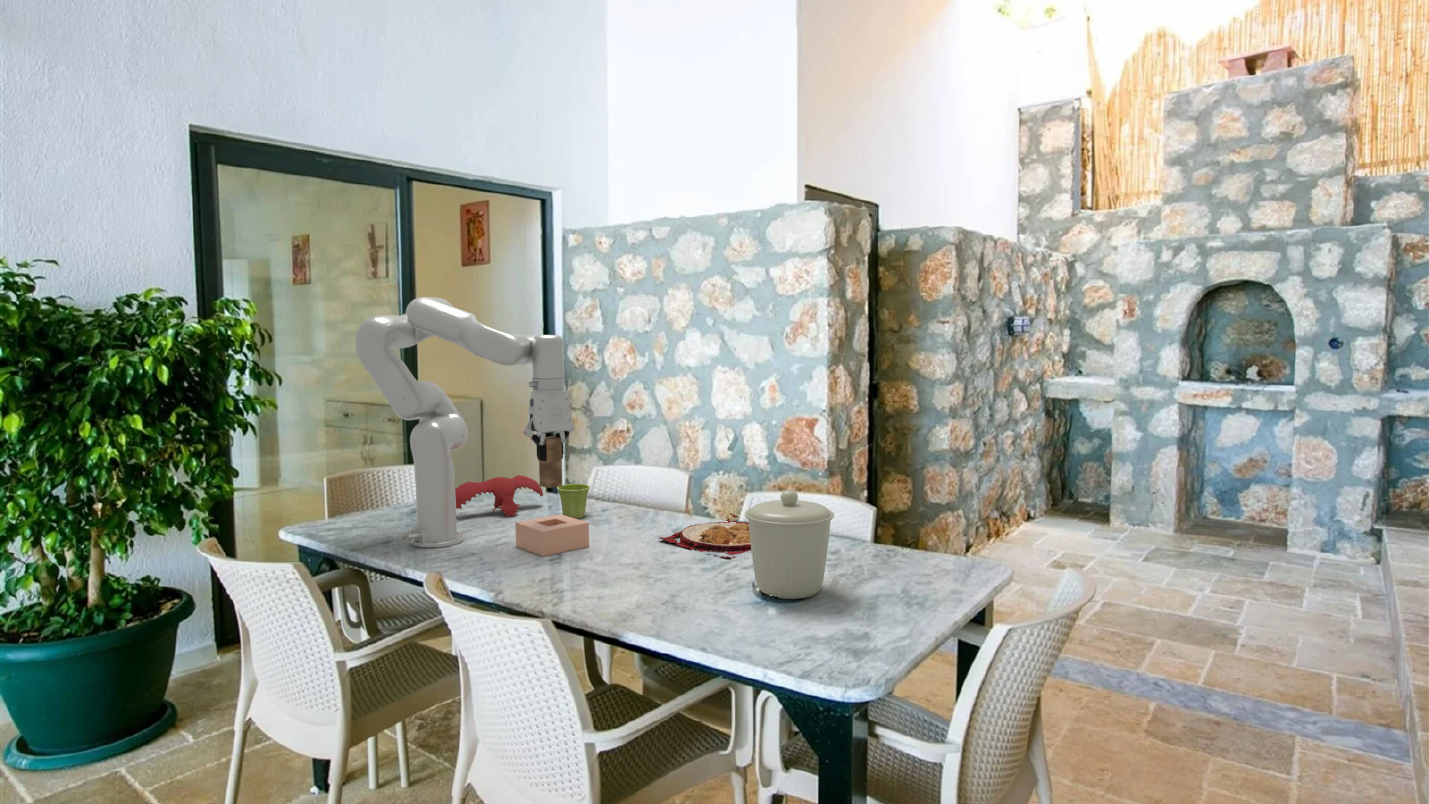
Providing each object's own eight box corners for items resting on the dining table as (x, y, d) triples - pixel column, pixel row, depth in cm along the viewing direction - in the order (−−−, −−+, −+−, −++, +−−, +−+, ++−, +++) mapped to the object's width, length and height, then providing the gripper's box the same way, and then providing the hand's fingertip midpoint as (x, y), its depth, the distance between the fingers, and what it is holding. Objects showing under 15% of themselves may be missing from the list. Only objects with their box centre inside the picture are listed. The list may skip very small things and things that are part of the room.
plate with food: (657, 544, 214) (656, 531, 214) (728, 524, 233) (728, 511, 233) (727, 564, 197) (727, 550, 197) (798, 540, 216) (798, 527, 216)
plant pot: (597, 515, 244) (596, 485, 243) (575, 521, 236) (575, 491, 235) (572, 511, 249) (572, 482, 248) (550, 518, 241) (550, 488, 240)
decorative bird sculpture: (548, 521, 255) (531, 481, 262) (559, 504, 250) (541, 463, 256) (458, 537, 237) (443, 493, 244) (467, 519, 232) (451, 474, 238)
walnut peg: (548, 488, 206) (547, 439, 205) (539, 485, 209) (538, 437, 208) (562, 485, 209) (561, 437, 208) (553, 483, 212) (552, 436, 210)
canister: (762, 610, 162) (762, 502, 160) (733, 583, 179) (733, 485, 177) (848, 601, 167) (849, 496, 165) (812, 575, 184) (813, 480, 182)
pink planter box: (543, 556, 201) (542, 531, 200) (516, 546, 211) (515, 522, 210) (589, 546, 210) (588, 522, 209) (560, 536, 219) (560, 514, 219)
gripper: (526, 388, 198) (528, 465, 200) (585, 384, 209) (587, 457, 211) (510, 386, 204) (512, 461, 205) (569, 382, 215) (570, 454, 217)
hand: (550, 458), depth 208 cm, fingers closed on walnut peg, 4 cm apart
